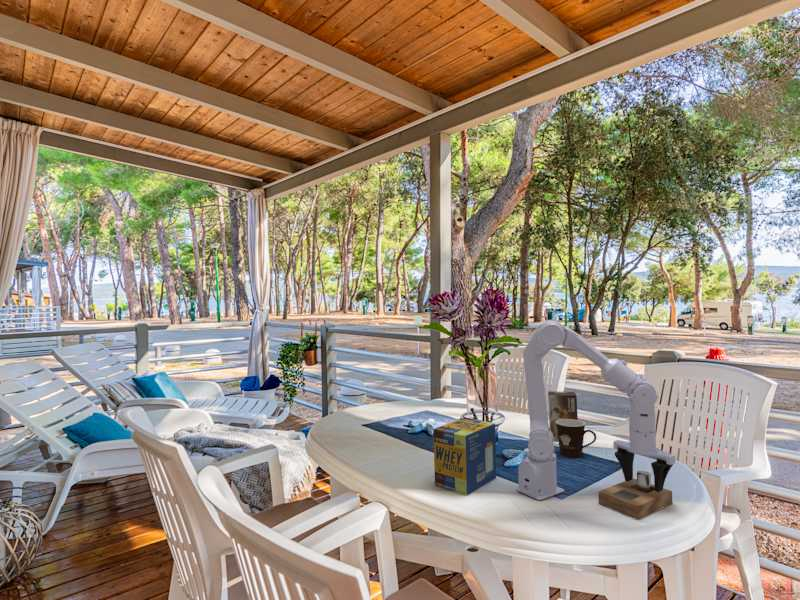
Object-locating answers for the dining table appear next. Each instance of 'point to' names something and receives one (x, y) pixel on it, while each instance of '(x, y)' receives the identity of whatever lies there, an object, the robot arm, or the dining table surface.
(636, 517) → the block
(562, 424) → the coffee mug
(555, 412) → the coffee box
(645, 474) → the pin
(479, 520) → the dining table surface
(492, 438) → the protein box
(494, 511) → the dining table surface
